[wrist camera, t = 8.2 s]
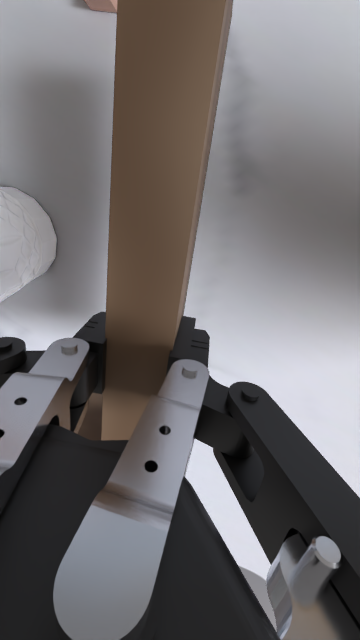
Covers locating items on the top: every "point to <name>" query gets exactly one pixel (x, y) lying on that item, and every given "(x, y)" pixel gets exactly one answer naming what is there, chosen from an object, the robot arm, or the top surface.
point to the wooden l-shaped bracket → (154, 192)
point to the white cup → (23, 241)
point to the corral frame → (102, 5)
